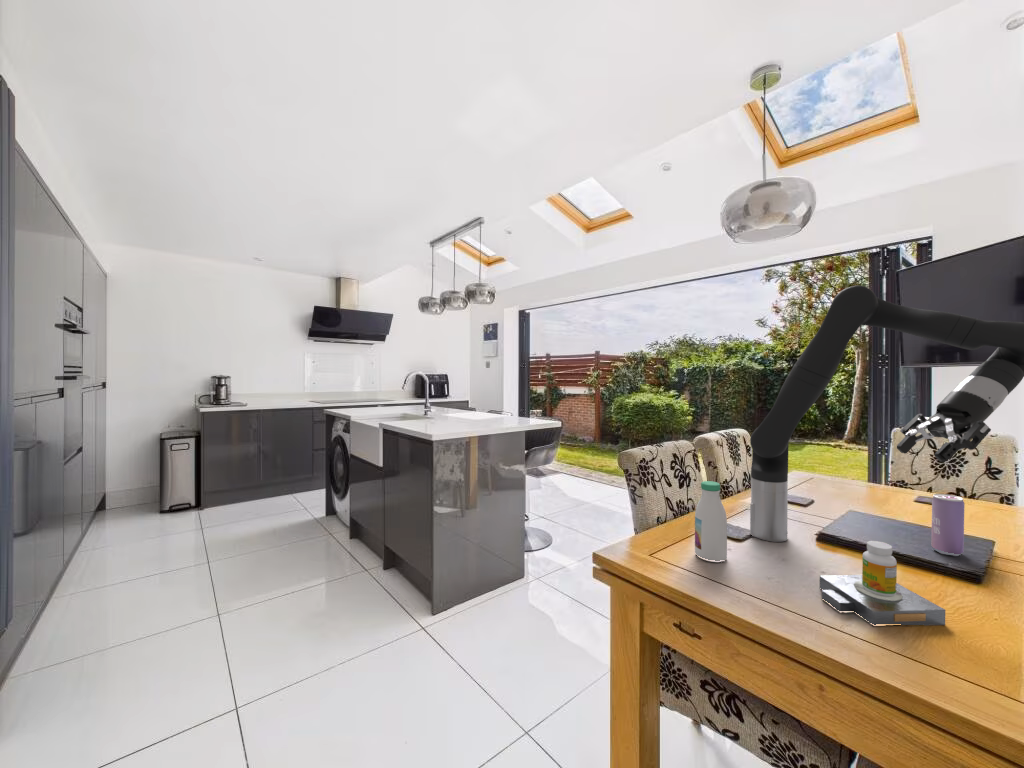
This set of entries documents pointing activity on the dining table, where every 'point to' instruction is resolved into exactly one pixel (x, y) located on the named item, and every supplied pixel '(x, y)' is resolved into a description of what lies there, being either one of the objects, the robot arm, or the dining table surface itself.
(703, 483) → the milk bottle
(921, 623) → the grey coaster with tab
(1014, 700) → the dining table surface
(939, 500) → the beverage can
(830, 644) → the dining table surface
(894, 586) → the supplement bottle
